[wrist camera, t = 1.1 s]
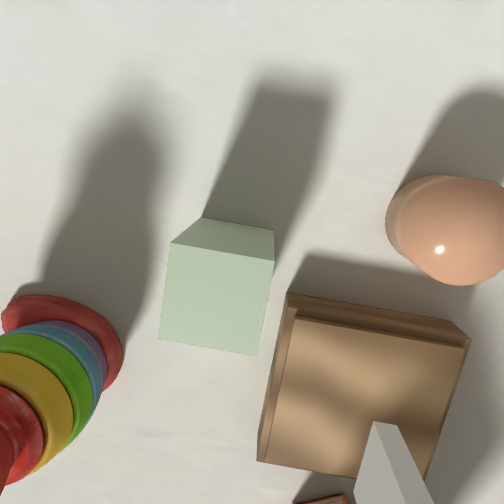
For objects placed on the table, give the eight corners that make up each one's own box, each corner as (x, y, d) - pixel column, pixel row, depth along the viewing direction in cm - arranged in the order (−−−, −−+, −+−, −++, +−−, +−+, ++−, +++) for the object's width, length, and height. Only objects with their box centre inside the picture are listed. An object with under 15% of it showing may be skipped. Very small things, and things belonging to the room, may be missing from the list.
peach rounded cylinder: (397, 167, 30) (427, 169, 24) (487, 183, 30) (539, 189, 24) (375, 254, 32) (398, 275, 26) (460, 269, 32) (503, 294, 26)
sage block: (201, 217, 32) (170, 242, 22) (273, 230, 32) (274, 261, 22) (191, 286, 33) (158, 339, 23) (260, 298, 33) (256, 356, 23)
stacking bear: (3, 295, 34) (-271, 435, 17) (116, 290, 34) (-48, 430, 16) (27, 404, 37) (-191, 624, 19) (132, 402, 36) (5, 626, 19)
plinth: (286, 292, 33) (288, 309, 29) (451, 321, 33) (475, 343, 29) (257, 433, 36) (256, 466, 32) (407, 460, 36) (423, 496, 32)
